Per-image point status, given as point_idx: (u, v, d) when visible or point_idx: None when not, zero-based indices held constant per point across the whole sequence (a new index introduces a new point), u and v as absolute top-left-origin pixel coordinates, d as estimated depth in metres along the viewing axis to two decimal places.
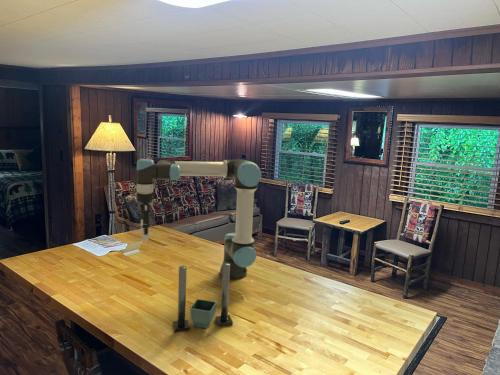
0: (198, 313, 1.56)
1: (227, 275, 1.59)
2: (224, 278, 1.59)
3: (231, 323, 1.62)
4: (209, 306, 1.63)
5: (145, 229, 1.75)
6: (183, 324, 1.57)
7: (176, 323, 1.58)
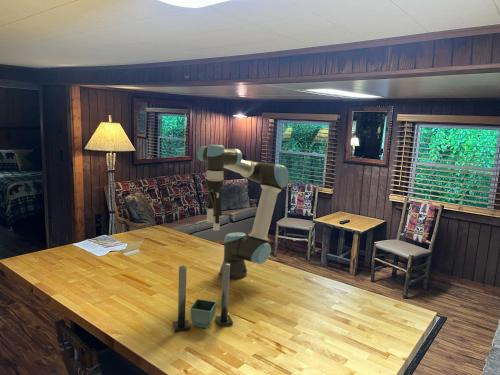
0: (198, 313, 1.56)
1: (227, 275, 1.59)
2: (224, 278, 1.59)
3: (231, 323, 1.62)
4: (209, 306, 1.63)
5: (217, 218, 1.68)
6: (183, 324, 1.57)
7: (176, 323, 1.58)
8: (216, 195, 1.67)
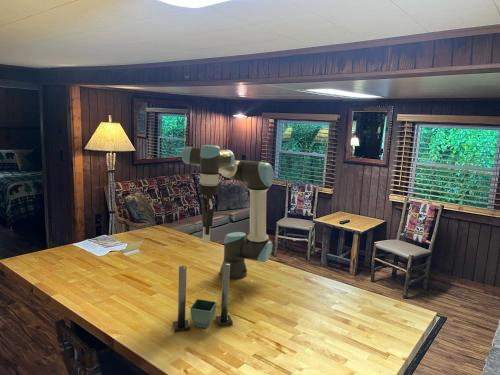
0: (198, 313, 1.56)
1: (227, 275, 1.59)
2: (225, 278, 1.59)
3: (231, 323, 1.62)
4: (209, 306, 1.63)
5: (207, 228, 1.55)
6: (183, 324, 1.57)
7: (176, 323, 1.58)
8: (209, 207, 1.49)
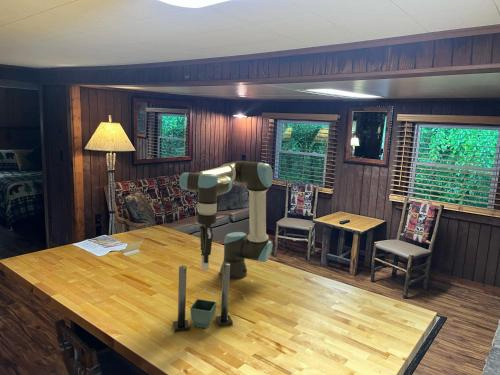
0: (198, 313, 1.56)
1: (227, 275, 1.59)
2: (224, 278, 1.59)
3: (231, 323, 1.62)
4: (209, 306, 1.63)
5: (205, 257, 1.54)
6: (183, 324, 1.57)
7: (176, 323, 1.58)
8: (208, 237, 1.49)
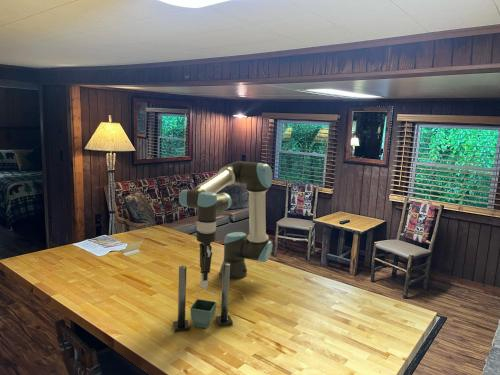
0: (198, 313, 1.56)
1: (227, 275, 1.59)
2: (224, 278, 1.59)
3: (231, 323, 1.62)
4: (209, 306, 1.63)
5: (205, 275, 1.55)
6: (183, 324, 1.57)
7: (176, 323, 1.58)
8: (207, 255, 1.50)
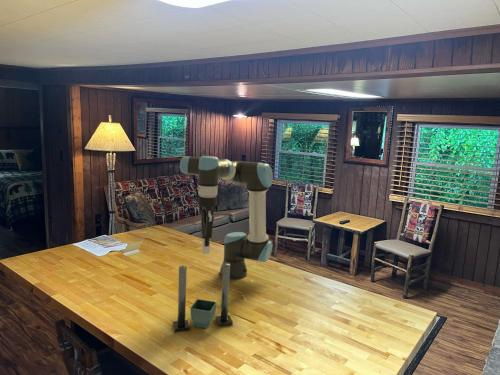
0: (198, 313, 1.56)
1: (227, 275, 1.59)
2: (225, 278, 1.59)
3: (231, 323, 1.62)
4: (209, 306, 1.63)
5: (206, 240, 1.53)
6: (183, 324, 1.57)
7: (176, 323, 1.58)
8: (208, 219, 1.48)
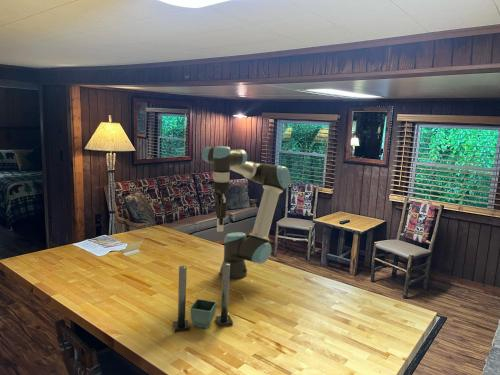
0: (198, 313, 1.56)
1: (227, 275, 1.59)
2: (225, 278, 1.59)
3: (231, 323, 1.62)
4: (209, 306, 1.63)
5: (221, 220, 1.76)
6: (183, 324, 1.57)
7: (176, 323, 1.58)
8: (223, 201, 1.71)
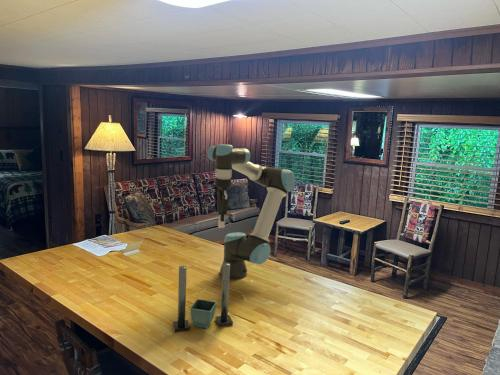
0: (198, 313, 1.56)
1: (227, 275, 1.59)
2: (225, 278, 1.59)
3: (231, 323, 1.62)
4: (209, 306, 1.63)
5: (222, 216, 1.80)
6: (183, 324, 1.57)
7: (176, 323, 1.58)
8: (224, 197, 1.74)
